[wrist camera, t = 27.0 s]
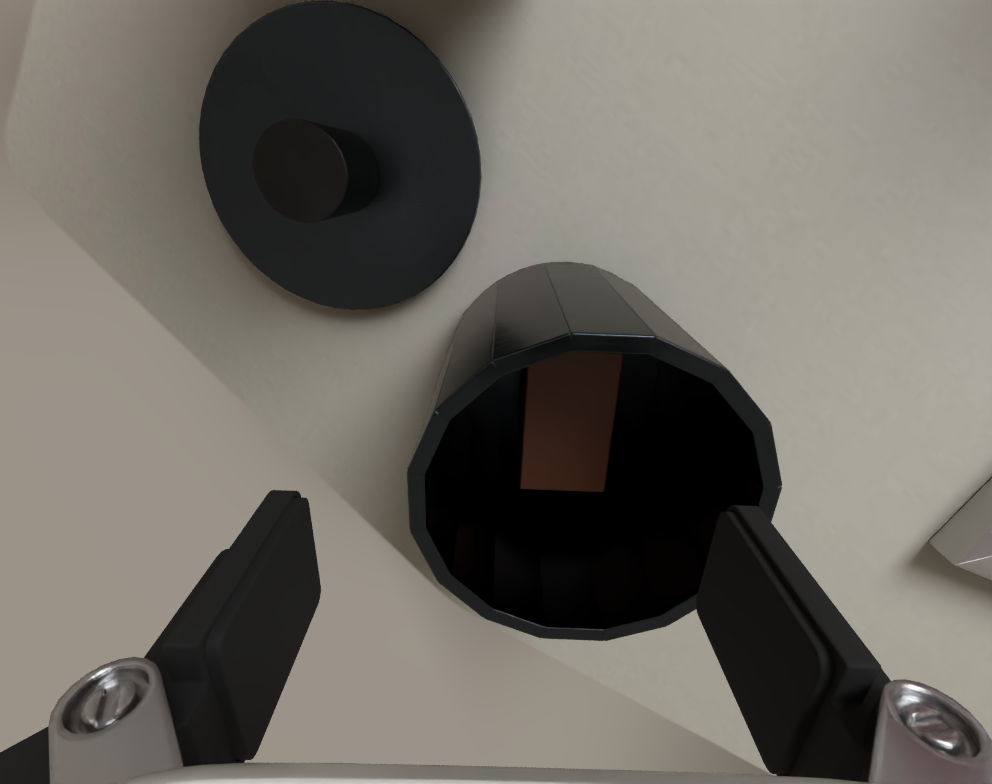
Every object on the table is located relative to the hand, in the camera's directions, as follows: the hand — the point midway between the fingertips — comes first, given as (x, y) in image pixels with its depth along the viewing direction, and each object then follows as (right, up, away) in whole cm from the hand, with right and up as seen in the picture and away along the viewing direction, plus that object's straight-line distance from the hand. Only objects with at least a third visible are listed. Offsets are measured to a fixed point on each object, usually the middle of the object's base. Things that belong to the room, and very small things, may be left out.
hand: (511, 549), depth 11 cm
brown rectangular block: (+3, +5, +16) cm, 17 cm away
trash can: (+3, +5, +17) cm, 18 cm away
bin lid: (-8, +14, +12) cm, 20 cm away
